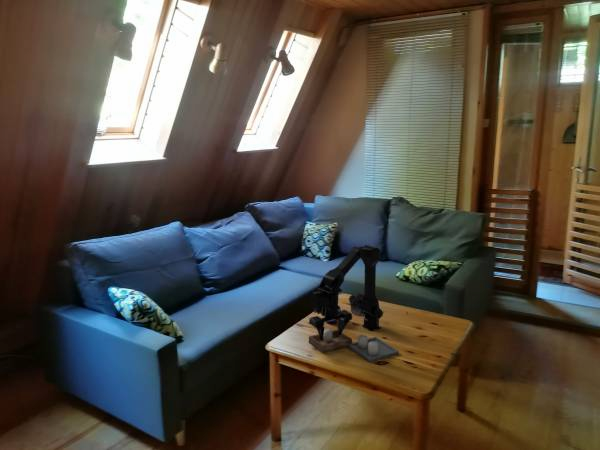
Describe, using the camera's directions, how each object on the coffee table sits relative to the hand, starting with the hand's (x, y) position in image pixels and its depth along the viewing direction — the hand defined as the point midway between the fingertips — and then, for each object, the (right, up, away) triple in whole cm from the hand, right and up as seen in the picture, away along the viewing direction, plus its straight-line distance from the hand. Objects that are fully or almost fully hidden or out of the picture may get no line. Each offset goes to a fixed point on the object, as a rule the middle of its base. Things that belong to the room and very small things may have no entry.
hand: (330, 337), depth 198 cm
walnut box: (0, -3, +1) cm, 3 cm away
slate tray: (+18, -4, -5) cm, 19 cm away
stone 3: (+17, -5, -9) cm, 20 cm away
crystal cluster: (+19, +4, +37) cm, 42 cm away
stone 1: (-1, -2, +2) cm, 3 cm away
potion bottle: (+2, +1, +23) cm, 24 cm away
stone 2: (+13, -3, -3) cm, 14 cm away
